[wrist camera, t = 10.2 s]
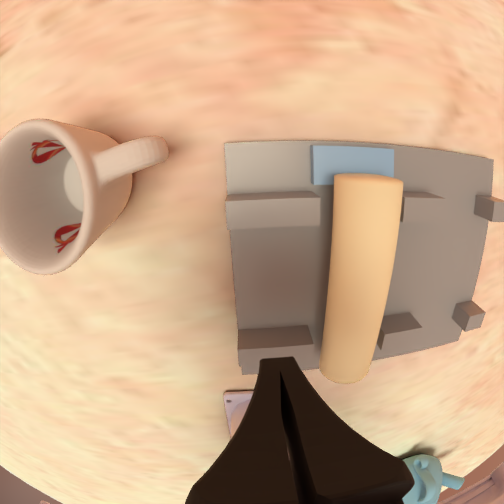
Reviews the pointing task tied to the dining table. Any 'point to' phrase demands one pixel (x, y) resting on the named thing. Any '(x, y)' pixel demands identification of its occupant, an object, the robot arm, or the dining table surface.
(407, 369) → the dining table surface
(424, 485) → the teapot
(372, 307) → the tan tapered cylinder
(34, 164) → the cup
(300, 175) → the board
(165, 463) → the dining table surface
